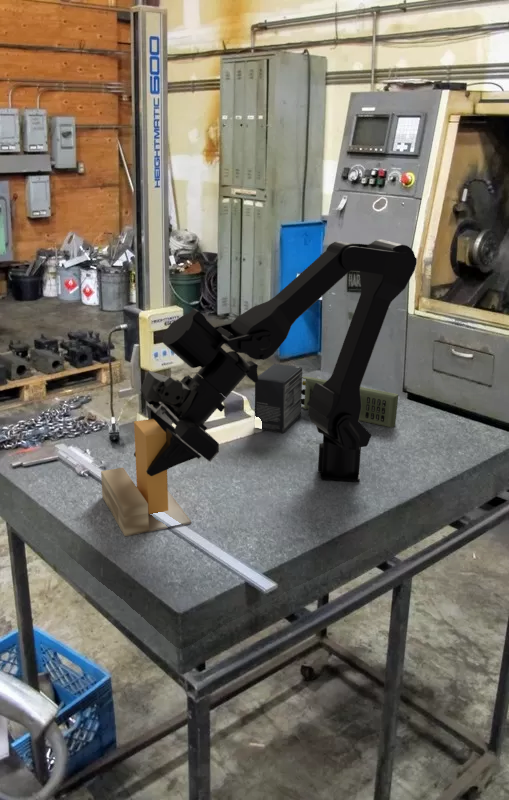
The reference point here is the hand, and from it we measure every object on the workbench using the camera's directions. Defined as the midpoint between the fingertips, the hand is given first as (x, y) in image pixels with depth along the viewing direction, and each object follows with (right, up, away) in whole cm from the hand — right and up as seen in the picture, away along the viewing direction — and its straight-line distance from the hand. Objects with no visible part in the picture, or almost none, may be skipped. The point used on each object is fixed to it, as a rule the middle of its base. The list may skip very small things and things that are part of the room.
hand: (142, 465), depth 113 cm
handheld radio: (+33, +7, +43) cm, 55 cm away
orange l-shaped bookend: (0, -6, +2) cm, 7 cm away
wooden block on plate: (+1, -7, +3) cm, 8 cm away
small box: (+21, +5, +38) cm, 44 cm away
